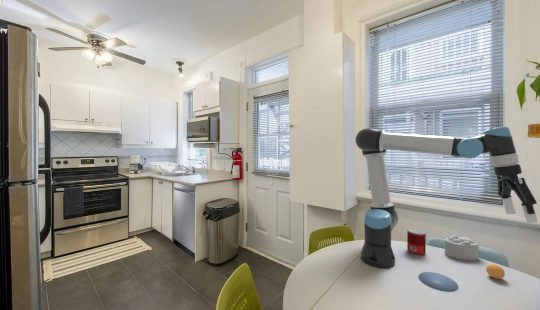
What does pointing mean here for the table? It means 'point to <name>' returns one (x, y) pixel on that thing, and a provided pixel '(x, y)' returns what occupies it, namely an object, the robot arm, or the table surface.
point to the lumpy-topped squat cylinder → (461, 248)
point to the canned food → (416, 241)
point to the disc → (438, 281)
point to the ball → (495, 271)
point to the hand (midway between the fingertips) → (521, 217)
